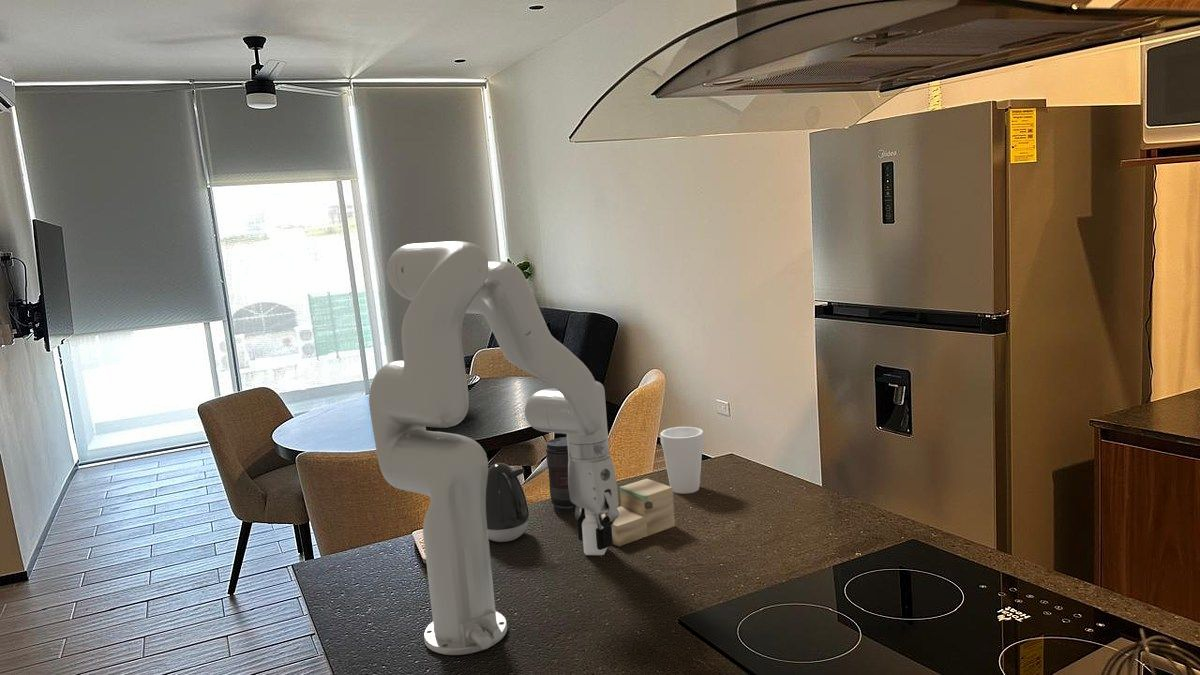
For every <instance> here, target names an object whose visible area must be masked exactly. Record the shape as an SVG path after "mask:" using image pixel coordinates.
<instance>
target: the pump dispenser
mask: <svg viewBox="0 0 1200 675" xmlns="http://www.w3.org/2000/svg"><path fill="white" fill-rule="evenodd" d="M524 473H525V468H523V467H520V468H517V469H513V468H512V467H511V466H510V465H509V464H506V463H504V462H498V463H493V464H492V465H490V467H488V477H487V486H486V519H487V530H488V539H489V540H491V541H493V542H498V543H509V542H512V541H515V540H516V539H518V538H519V537H521V536H522V535H523V534H524V533H525V532H526V529H527V527H528V523H529V521H530V518H531V517H530V510H529V504H528V501H527V500H528V499H527V498H526V497H527V496H526V494H525V491H524V488H523V485H522V483H521V482H520V479H519V476H521V475H522V474H524Z"/></svg>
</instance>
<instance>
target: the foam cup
mask: <svg viewBox="0 0 1200 675" xmlns="http://www.w3.org/2000/svg"><path fill="white" fill-rule="evenodd" d="M659 435H660V445H661V446H662V451H663V456H664V461H665V465H666V466H665V467H666V471H667V472H666V473H667V477H668V482H669V486H670V487H673V493H675V494H680V495H681V494H693V493H695V492H698V491H699V490H700V484H701V470H702V456H703V447H704V445H703V444H704V440H705V438H704V431H703V429H702V428H699V427H694V426H676V427H669V428H666V429H663V430H662V431H661V432H660V433H659Z"/></svg>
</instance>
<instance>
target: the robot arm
mask: <svg viewBox="0 0 1200 675" xmlns="http://www.w3.org/2000/svg"><path fill="white" fill-rule="evenodd" d="M386 276H387V279H388V282H389V284H390V286H391V288H392V289H393V290H394V291H395V292H396V294H397V295H399V296H400V297H402V298H403V299H406V300H408V301H410V303H409V306H407V309H406V312H405V313H404V314H405V315H404V317H403V321H402V324H401V333H400V334H401V346H402V358H403V360H395V361H390V362H388V363H386V364H384V365H383V366H382V367H381V368H379V369H378V371H377V372H376V374H375V375H374V377H373V379H372V382H371V385H370V388H369V394H368V395H369V396H368V397H369V398H368V402H369V403H368V405H369V414H370V420H371V426H372V432H373V433H372V434H373V438H374V443H375V444H374V445H375V450H376V456H377V461H378V465H379V469H380V472H381V475H382V476H383V478H384V480H385V481H386V482H387V483H388V484H389V485H390V486H392V487H394V488H395V489H398V490H400V491H401V490H402V491H406V492H411V493H416V494H420V495H423V496H428V497H429V500H430V502H429V505H428V508H427V510H426V514H425V515H424V519H423V524H422V534H423V535H422V537H423V544H424V553H425V561H426V571H427V580H428V587H429V588H428V589H429V597H430V598H429V599H430V600H429V601H430V606H431V615H432V616H431V617H432V622H430V623H429V624H428V625H427V627H425V628H426V629H425V630H424V632H423V638H424V640H423V641H424V644H425V646H426V647H427V648H428V649H429V650H430V651H432V652H434V653H438V654H440V655H441V654H442V655H445V656H446V655H447V656H463V655H464V656H465V655H470V654H473V653H478V652H481V651H484V650H487V649H489V648H491V647H492V646H495V645H496V644H497V643H499V642H500V641H501V640H502V639H503V638H504V637H505V635H506V634H507V631H508V623H507V619H506V617H505V616H504V615H503V614H502V613H501V612H499V611H497V610H496V602H495V592H494V583H493V582H494V581H493V571H492V562H491V552H490V551H491V550H490V541H489V540H490V539H489V538H488V530H487V519H486V486H487V477H488V469H489V459H488V457H487V453H486V451H485V449H484V448H483V447H482V446H481V444H480V443H479V442H477V441H476V440H474V439H473V438H471V437H468V436H465V435H461V434H458V433H451V432H443V431H432V430H427V428H428V427H429V428H439V429H440V428H450V427H453V426H454V427H455V426H456V425H458V424H460V423H462V421H464V419H465V417H466V416H467V414H468V410H469V402H470V401H469V400H470V399H469V388H468V381H467V380H468V378H467V374H466V365H465V357H464V350H463V342H462V340H463V339H462V326H463V322H464V318H465V316H466V314H472V315H473V314H474V315H475V314H477V315H478V314H479V315H480V314H481V315H483V317H484V318H485V320H486V322H487V324H488V325H489V328H490V329H491V332H492V334H493V336H494V338H495V340H496V342H497V344H498V346H499V349H500V351H501V352H502V355H503V357H504V358H505V359H506V361H508V362H509V363H510V364H512V365H513V366H516V367H517V368H518V369H520V370H522V371H524V372H527V373H529V374H531V375H533V376H535V377H537V378H539V379H541V380H543V381H545V382H547V383H549V385H551V386H553V388H551V387H550V388H544V389H541V390H538V391H536V392H534V393H533V394H531V396H530V397H529V398H528V399H527V402H526V404H525V407H524V418H525V420H526V422H527V423H528V425H530V426H529V427H532V428H533V429H534V430H536V431H539V432H544V433H551V434H562V435H566V437H567V446H568V458H569V459H568V487H569V494H568V498H569V500H570V502H571V503H572V507H573V509H574V511H575V513H574V517H575V520H576V521H577V522H576V524H577V535H578V537H577V538H578V540H579V541H581V542H583V534H582V522H583V520H584V519H585V509H586V510H588V511H591V512H593V513H594V514H595V518H596V522H597V526H598V528H597V529H596V541H597V549H599V550H602V549H604V548H607V549H608V548H609V547H612V546H613V545H614V544H613V540H612V526H613V522H614V521H615V519H616V518H617V517H618V516H619V511H618V509H617V508H618V507H620V506H619V504H620V501H619V500H620V499H619V490H618V483H617V477H616V472H615V471H616V470H615V467H614V462H613V459H612V457H611V456H610V447H609V446H610V445H609V433H608V432H609V431H608V419H607V406H606V405H607V404H606V392H605V387H604V384H602V383H601V382H600V381H597V380H595V377H594V376H593V373H592V372H591V371H590V370H589V368H588V367H587V365H585V363H584V362H583V361H582V360H581V359H579V357H577V356H576V355H575V354H574V353H573V352H572V351H571V350H570V349H569V348H567V347H566V346H565V345H564V344H563V343H561V341H559V340H557V339H556V338H555V337H554V336H553V335H552V334H551V331H550V330H549V327H548V326H547V323H546V321H545V319H544V316H543V314H542V312H541V309H540V307H539V305H538V302H537V301H536V298H535V296H534V294H533V291H532V290H531V287H530V284H529V283H528V280H527V278H526V277H525V276H526V275H524V273H523V271H522V269H520V267H518V266H517V265H516V264H514V263H512V262H508V261H499V260H498V261H497V260H495V261H494V260H493V261H489V258H488V256H487V253H486V251H485V250H484V249H483V248H482V247H481V246H479V245H478V244H476V243H472V242H469V241H461V240H460V241H459V240H451V241H450V240H449V241H436V242H434V241H433V242H418V243H416V242H415V243H408V244H405V245H402V246H400V247H399V248H397V249H396V250H395V251H393V252H392V254H391V256H390V257H389V259H388V261H387V266H386ZM426 427H427V428H426ZM604 513H605V516H606V517H604V519H603V520H602V518H601V514H604Z"/></svg>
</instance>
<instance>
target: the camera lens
mask: <svg viewBox="0 0 1200 675" xmlns="http://www.w3.org/2000/svg"><path fill="white" fill-rule="evenodd" d="M545 451H546V464H547V468H548V479H549V480H548V481H549V485H548V486H549V495H550V501H551V504H552V505H553V510H554V512H555V513H557V514H563V515H568V514H569V515H570V514H575V511H574V509H573V507H572V503H571V502H570V500H569V498H568V494H569V487H568V459H569V458H568V446H567V436H562V437H557V438H552V439H549V440H548V441H547V442H546V446H545Z"/></svg>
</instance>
